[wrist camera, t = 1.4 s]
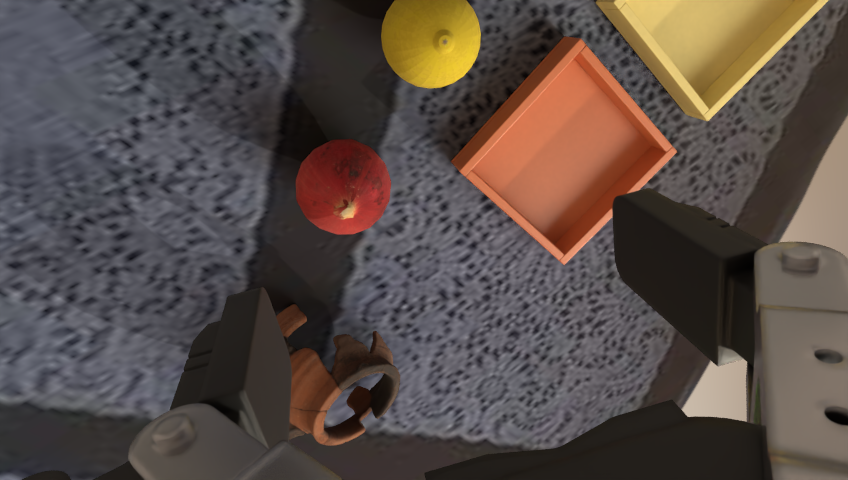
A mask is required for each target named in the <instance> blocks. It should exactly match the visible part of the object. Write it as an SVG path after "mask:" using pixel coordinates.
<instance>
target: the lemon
mask: <svg viewBox="0 0 848 480" xmlns="http://www.w3.org/2000/svg"><path fill="white" fill-rule="evenodd" d="M480 37H481V32H480V27H479V21H478V19H477V16H476V14H475V12H474V10H473V8H472V7H471V6H470V4H469V3H468V2H467V1H466V0H395V1H394V2H393V3H392V5H391V6H390V8H389V9H388V11H387V12H386V15H385V18H384V21H383V24H382V33H381V40H382V47H383V51H384V54H385V57H386V59H387V62H388V63H389V65H390V66H391V67H392V69H393V70H394V72H395V73H396V74H398V75H399V76H400V77H401V78H402V79H404V80H405V81H407V82H409V83H411V84H413V85H415V86H418V87H424V88H439V87H444V86H446V85H449V84H452V83H454V82H455V81H457V80H458V79H460V78H461V77H463V76H464V75H465V74H466V73H467V71H468V70H469V69H470V68H471V67H472V65H473V63H474V61H475V60H476V58H477V55H478V51H479V48H480Z"/></svg>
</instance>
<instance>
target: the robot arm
mask: <svg viewBox="0 0 848 480" xmlns="http://www.w3.org/2000/svg"><path fill="white" fill-rule="evenodd" d="M612 214H613V233H614V252H615V262H616V266H617V270H618V272H619V274H620V276H621V278H622V280H623V281H624V282H625V284H626V285H628V286H629V287H630V288H631V289H632V290H633V291H634V292H635V293H636V294H638V295H639V296H640V297H641V298H642V299H643V300H644V301H645V302H647V303H648V304H649V305H650V306H651V307H652V308H653V309H654V310H655V311H657V312H658V313H659V314H660V315H661V316H662V317H663V318H664V319H665V320H667V321H668V322H669V323H670V324H671V325H672V326H673V327H674V328H675V329H677V330H678V331H679V332H680V333H681V334H682V335H683V336H684V337H686V338H687V339H688V340H689V341H690V342H691V343H692V344H693V345H694V346H696V347H697V348H698V349H699V350H700V351H701V352H702V353H703V354H704V355H706V356H707V357H708V358H709V359H710V360H711V361H712V362H713V363H715V364H716V365H717V366H721V365H725V364H728V363H731V362H735V361H738V360H742V359H745V360H746V361H747V375H746V389H747V390H746V392H747V393H746V394H747V422H745V421H739V420H733V419H728V418H717V417H687V416H686V415H685V414H684V412H683V411H682V410H681V409H680V408H679V407H678V406H677V405H676V403H675V402H674V401H673V400H669V401H665V402H662V403H659V404H655V405H652V406H648V407H645V408H642V409H638V410H635V411H632V412H628V413H625V414H622V415H618V416H615V417H612V418H610V419H609V420H607V421H605V422H603V423H602V424H600V425H598V426H596V427H595V428H593V429H591V430H589V431H588V432H586V433H584V434H582V435H581V436H579V437H577V438H575V439H574V440H572V441H570V442H568V443H567V444H565V445H563V446H561V447H558V448H554V449H545V450H533V451H521V452H509V453H497V454H487V455H483V456H480V457H477V458H473V459H470V460H466V461H463V462H460V463H456V464H453V465H450V466H446V467H443V468H439V469H436V470H433V471H429V472H426V473H425V478H426V480H848V259H847V258H846V257H845V256H844V255H843V254H841V253H840V252H838V251H836V250H834V249H832V248H829V247H826V246H822V245H819V244H814V243H807V242H781V243H775V244H771V245H768V244H767V243H765V242H763V241H761V240H759V239H757V238H755V237H753V236H751V235H750V234H748V233H746V232H744V231H742V230H740V229H738V228H736V227H735V226H730V225H729V223H727V222H725V221H723V220H721V219H720V218H718V219H716V216H714V215H712V214H710V213H708V212H706V211H704V210H703V209H701V208H699V207H694V206H690V205H686V204H682V203H678V202H674V201H672V200H671V199H669V198H667V197H665V196H663V195H661V194H660V193H658V192H656V191H654V190H652V189H650V188H646V189H642V190H639V191H635V192H631V193H627V194H623V195H619V196H616V197H615V198H614V200H613V205H612ZM188 357H189V359H187V361H186V364H185V367H184V372H183V373H182V376H181V379H180V382H179V384H178V387H177V390H176V393H175V396H174V399H173V402H172V405H171V408H170V411H168V412H166V413H164V414H162V415H161V416H159V417H157V418H156V419H154V420H153V421H152V422H150V423H149V424H148V425H147V426H146V427H144V428H143V429H142V430H141V431H140V432H139V434H138V435H137V436H136V437H135V439H134V440H133V442H132V444H131V446H130V449H129V453H128V457H129V461H128V462H126V463H125V464H123V465H121V466H119V467H118V468H116V469H114V470H112V471H110V472H108V473H106V474H104V475H102V476H100V477H98V478H96V479H94V480H343V479H342V478H340V477H339V476H337V475H336V474H335V473H333V472H332V471H330V470H329V469H327V468H326V467H325V466H323V465H322V464H320V463H319V462H317V461H316V460H315V459H313V458H312V457H310V456H309V455H307V454H306V453H305V452H303V451H302V450H300V449H299V448H298V447H296V446H295V445H293V444H292V443H290V442H288V441H289V421H290V402H291V382H292V368H291V361H290V356H289V352H288V349H287V346H286V343H285V340H284V337H283V334H282V332H281V329H280V326H279V323H278V321H277V318H276V315H275V312H274V310H273V307H272V304H271V301H270V299H269V296H268V294H267V292H266V290H265V289H264V288H263V287H261V288H257V289H253V290H249V291H245V292H241V293H238V294H234V295H230V296H228V297H227V300H226V304H225V307H224V311H223V314H222V318H221V321H218V322H215V323H211V324H208V325H207V326H206V327H205V328H204V329H203V331H202V332H201V333H200V334H199V335H198V336H197V337H196V338H195V339H194V341H193V344H192V347H191V350H190V353H189V355H188ZM22 480H71V479H70V477H69V476H68V475H67V474H66V473H64V472H61V471H45V472H41V473H37V474H34V475H32V476H29V477H26V478H24V479H22Z"/></svg>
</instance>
